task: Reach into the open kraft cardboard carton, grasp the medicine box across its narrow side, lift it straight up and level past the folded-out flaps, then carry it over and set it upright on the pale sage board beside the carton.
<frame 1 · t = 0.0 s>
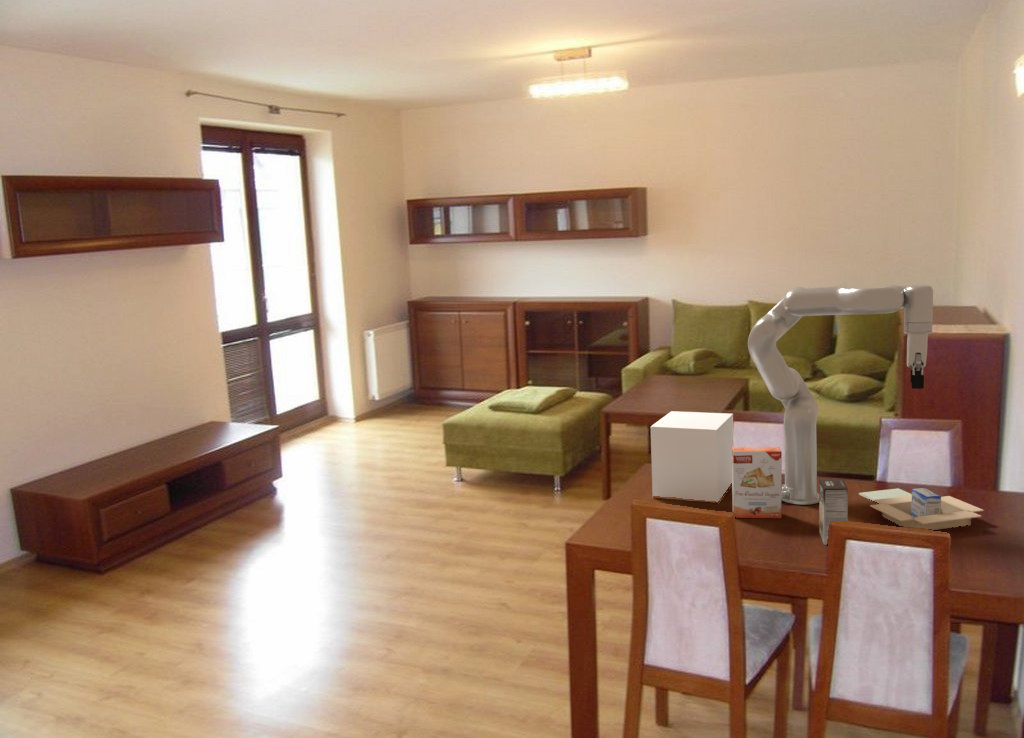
hand: (917, 385, 247), 37 cm above the table, tool pointing down, fingers open, 9 cm apart
carton: (925, 520, 241), on the table
medicine box: (925, 521, 241), resting in carton
cracker box: (756, 516, 253), on the table
sage board: (892, 498, 262), on the table
coffee box: (833, 540, 230), on the table
cube: (694, 491, 282), on the table
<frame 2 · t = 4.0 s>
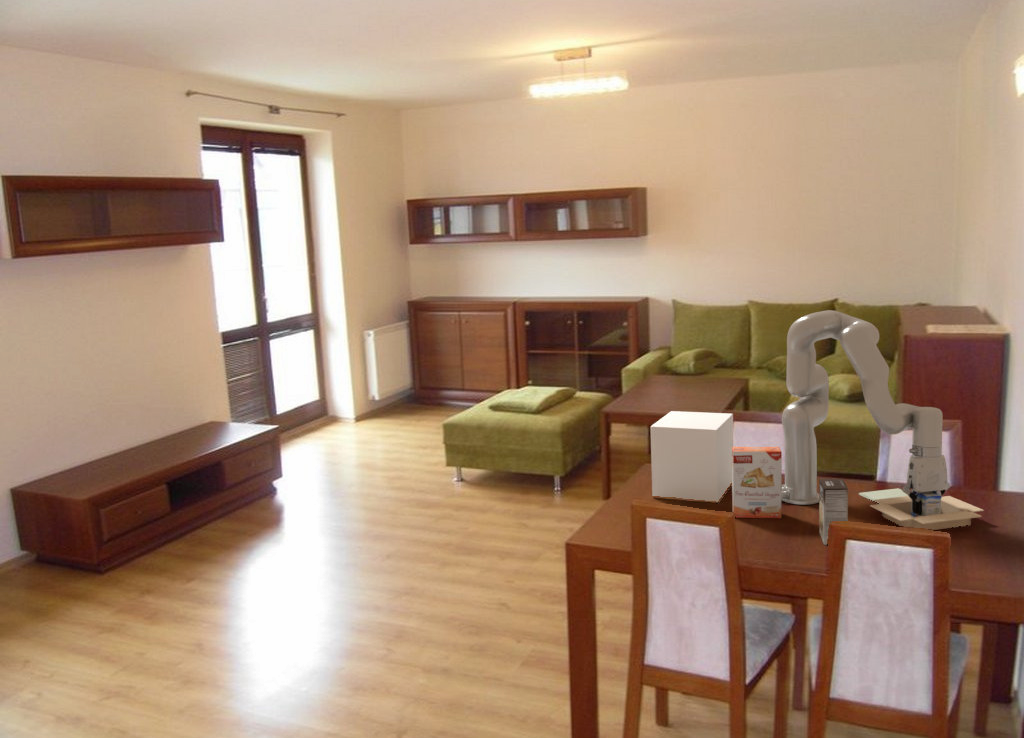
hand: (925, 512, 240), 3 cm above the table, tool pointing down, fingers closed on medicine box, 4 cm apart
medicine box: (925, 521, 241), resting in carton, touching gripper
everything else where it was.
when the fingers open (5 cm above the table, at t = 13.0 s): medicine box drops 1 cm, resting on sage board.
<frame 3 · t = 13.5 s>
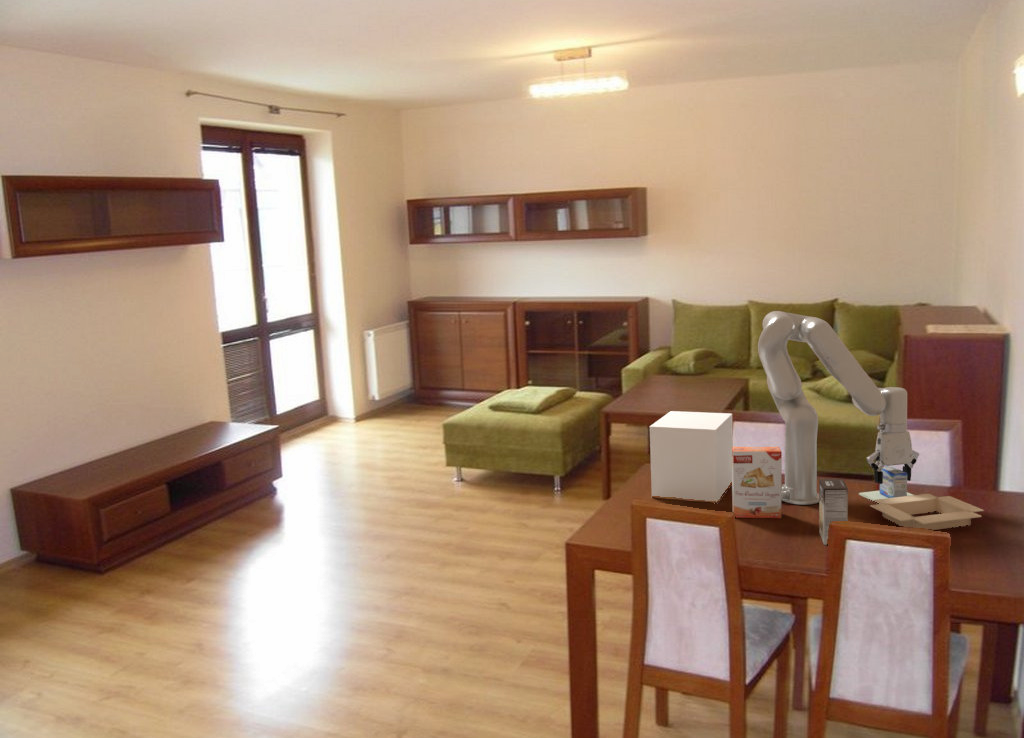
hand: (892, 481, 261), 6 cm above the table, tool pointing down, fingers open, 9 cm apart
medicine box: (893, 497, 262), resting on sage board
everything else where it was.
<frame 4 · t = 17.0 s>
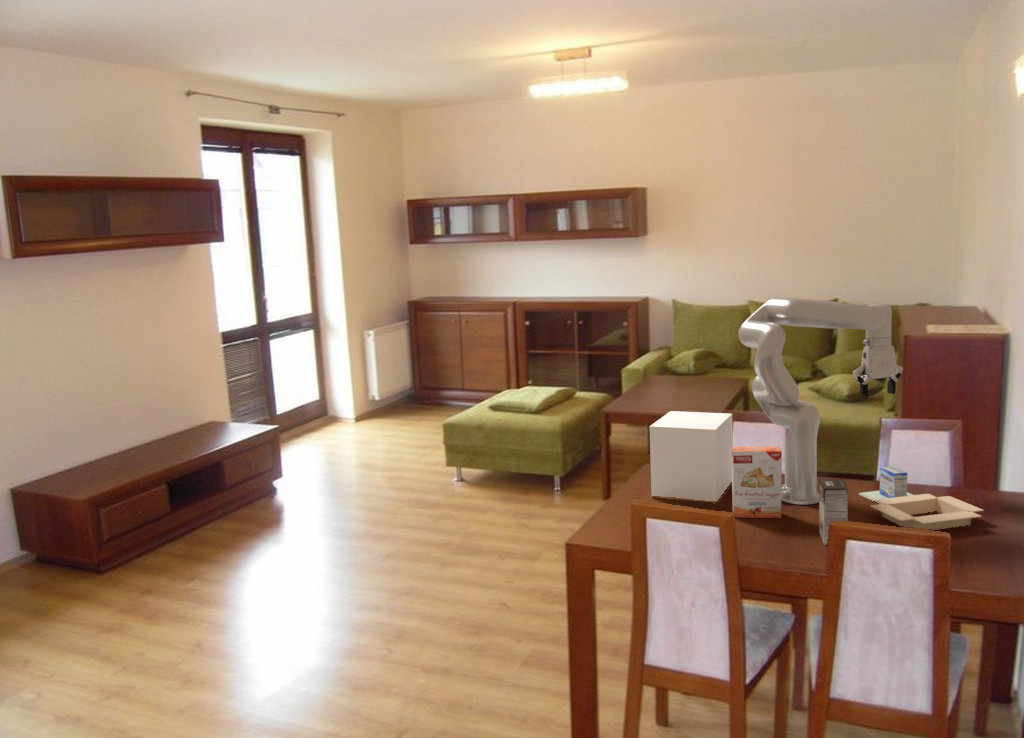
hand: (877, 394, 272), 30 cm above the table, tool pointing down, fingers open, 9 cm apart
nothing on the table moved.
at the end: medicine box inside the target area on the sage board (0.2 cm from its centre), point 0.4 cm above the sage board's base; medicine box tilted 0°; the gripper is holding nothing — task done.
